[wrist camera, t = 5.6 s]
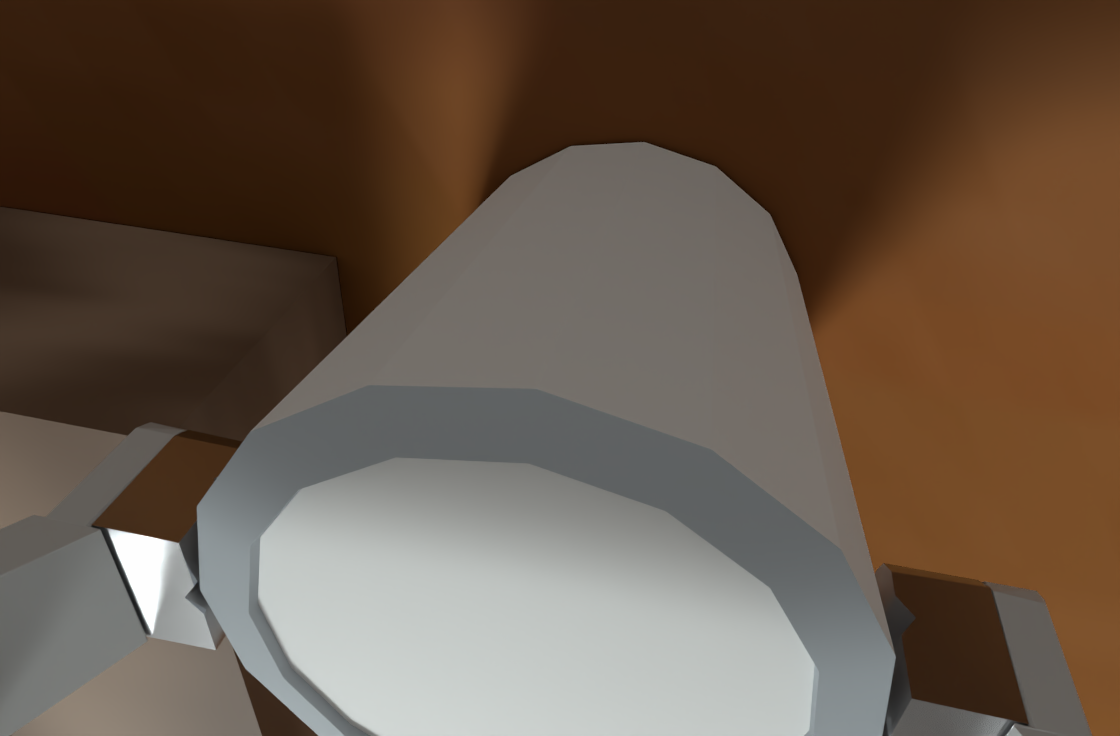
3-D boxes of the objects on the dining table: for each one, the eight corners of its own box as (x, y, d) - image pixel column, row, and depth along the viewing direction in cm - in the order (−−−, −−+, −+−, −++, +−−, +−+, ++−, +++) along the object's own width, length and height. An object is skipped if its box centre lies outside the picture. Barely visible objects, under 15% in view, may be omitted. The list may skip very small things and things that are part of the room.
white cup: (508, 478, 16) (371, 836, 11) (359, 161, 13) (41, 445, 7) (866, 439, 14) (932, 875, 8) (801, 36, 10) (838, 319, 5)
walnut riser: (335, 257, 14) (164, 442, 10) (396, 700, 22) (315, 897, 18) (-324, 157, 16) (-686, 280, 12) (-41, 599, 24) (-199, 758, 20)
